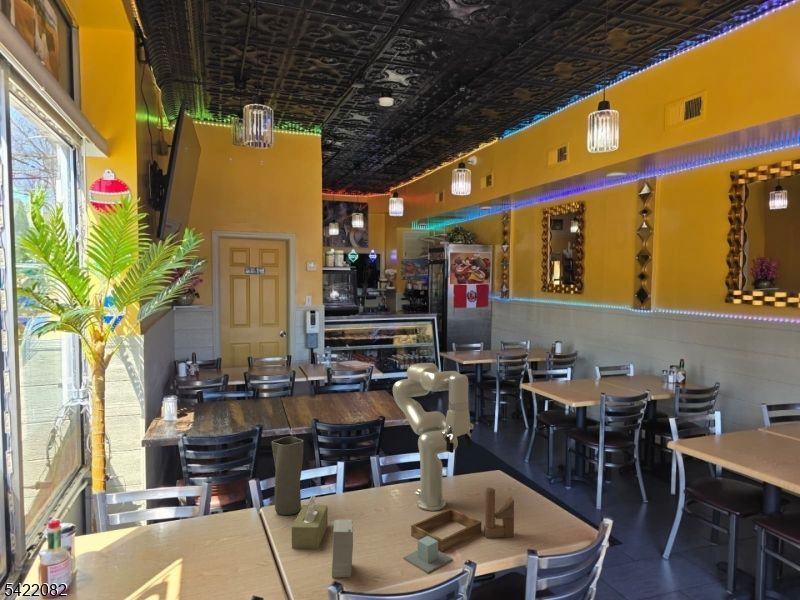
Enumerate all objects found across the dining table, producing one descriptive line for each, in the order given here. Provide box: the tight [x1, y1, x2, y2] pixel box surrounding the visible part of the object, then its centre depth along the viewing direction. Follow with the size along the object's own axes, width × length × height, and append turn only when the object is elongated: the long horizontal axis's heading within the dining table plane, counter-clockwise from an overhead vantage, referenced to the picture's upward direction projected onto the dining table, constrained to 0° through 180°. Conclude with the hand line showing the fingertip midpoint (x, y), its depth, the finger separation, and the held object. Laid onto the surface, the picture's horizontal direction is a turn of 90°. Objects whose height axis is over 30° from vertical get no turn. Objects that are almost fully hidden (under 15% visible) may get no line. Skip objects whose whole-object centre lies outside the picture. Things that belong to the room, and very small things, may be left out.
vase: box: [271, 436, 304, 516], centre depth 214 cm, size 12×12×30 cm
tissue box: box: [291, 495, 329, 550], centre depth 193 cm, size 19×10×16 cm, turn 177°
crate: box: [410, 508, 482, 553], centre depth 194 cm, size 16×22×4 cm
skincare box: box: [331, 519, 354, 578], centre depth 169 cm, size 8×7×16 cm
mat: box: [402, 549, 453, 574], centre depth 176 cm, size 12×12×1 cm
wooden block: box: [483, 487, 515, 539], centre depth 193 cm, size 4×11×18 cm, turn 96°
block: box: [417, 536, 438, 563], centre depth 176 cm, size 5×5×6 cm
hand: (458, 449), depth 201 cm, fingers open, 9 cm apart
